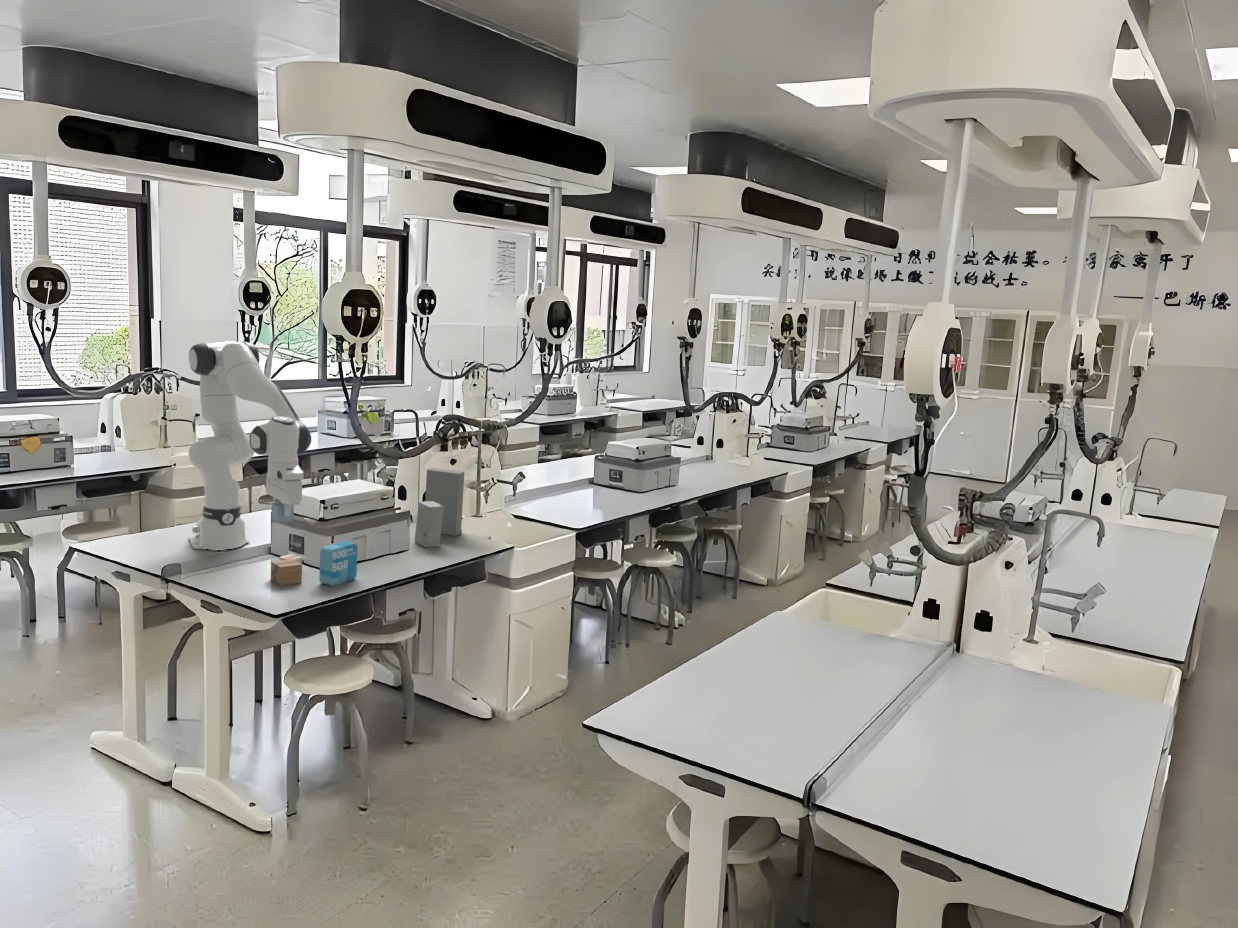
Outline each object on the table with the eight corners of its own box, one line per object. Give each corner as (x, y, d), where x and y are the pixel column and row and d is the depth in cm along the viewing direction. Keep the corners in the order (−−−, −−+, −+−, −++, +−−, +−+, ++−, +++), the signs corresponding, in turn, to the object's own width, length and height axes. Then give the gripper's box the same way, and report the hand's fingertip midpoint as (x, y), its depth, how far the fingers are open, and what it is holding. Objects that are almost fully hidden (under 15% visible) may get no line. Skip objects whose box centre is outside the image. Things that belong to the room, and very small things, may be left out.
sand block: (278, 571, 297) (279, 557, 296) (290, 568, 301) (291, 554, 301) (289, 575, 295) (290, 560, 294) (301, 571, 299) (302, 557, 298)
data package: (329, 587, 286) (330, 550, 284) (318, 584, 288) (319, 547, 286) (356, 578, 297) (358, 542, 295) (346, 575, 299) (347, 540, 297)
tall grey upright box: (462, 533, 364) (465, 471, 360) (456, 536, 358) (459, 473, 354) (429, 528, 367) (432, 467, 363) (423, 531, 361) (426, 469, 357)
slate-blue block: (271, 518, 284) (271, 503, 284) (287, 517, 288) (287, 501, 287) (277, 522, 281) (277, 506, 280) (293, 520, 284) (293, 504, 283)
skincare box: (414, 542, 345) (415, 501, 342) (430, 540, 349) (432, 500, 347) (425, 548, 339) (427, 506, 336) (442, 546, 343) (444, 504, 341)
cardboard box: (270, 579, 288) (271, 561, 287) (292, 576, 293) (293, 558, 292) (279, 585, 283) (279, 567, 282) (301, 582, 288) (302, 564, 287)
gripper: (260, 464, 287) (260, 507, 289) (285, 476, 272) (285, 521, 274) (280, 463, 291) (280, 506, 294) (306, 474, 276) (305, 519, 278)
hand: (282, 513), depth 284 cm, fingers closed on slate-blue block, 5 cm apart
